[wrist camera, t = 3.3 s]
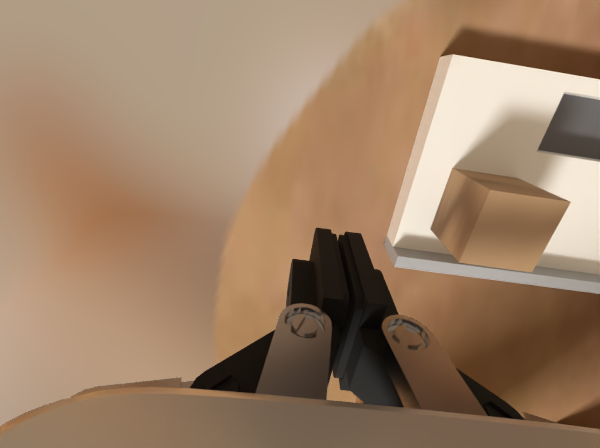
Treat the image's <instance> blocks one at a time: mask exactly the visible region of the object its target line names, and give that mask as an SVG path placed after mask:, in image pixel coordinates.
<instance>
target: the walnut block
mask: <svg viewBox="0 0 600 448" xmlns="http://www.w3.org/2000/svg"><path fill="white" fill-rule="evenodd" d="M570 203H571V202H570V201H568V200H566V199H563V198H561V197H559V196H557V195H554V194H552V193H550V192H548V191H545V190H543V189H541V188H539V187H537V186H534V185H532V184H530V183H528V182H525V181H523V180H521V179H519V178H514V177H508V176H501V175H494V174H488V173H481V172H475V171H468V170H461V169H455V168H452V170H451V173H450V175H449V178H448V181H447V184H446V187H445V189H444V192H443V195H442V198H441V200H440V203H439V206H438V209H437V211H436V214H435V217H434V220H433V223H432V225H431V228H430V230H431V231H432V232H433V233H434V234H435V235H436V236H437V238H438V239H439V240H440V241H441V242H442V243H443V245H444V246H445V247H446V248H447V249H448V250H449V252H450V253H451V254H452V255H453V256H454V257H455V258H456V260H457V261H458V262H459V263H466V264H474V265H481V266H489V267H496V268H503V269H511V270H518V271H526V272H533V270H534V268H535V266H536V264H537V263H538V261H539V259H540V257H541V255H542V254H543V252H544V250H545V248H546V246H547V245H548V243H549V241H550V239H551V237H552V235H553V234H554V232H555V230H556V228H557V226H558V225H559V223H560V221H561V219H562V217H563V216H564V214H565V212H566V210H567V208H568V207H569V205H570Z"/></svg>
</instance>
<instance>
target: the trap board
mask: <svg viewBox="0 0 600 448" xmlns="http://www.w3.org/2000/svg"><path fill="white" fill-rule="evenodd" d="M452 168H455V169H461V170H468V171H475V172H481V173H488V174H494V175H501V176H508V177H514V178H519V179H521V180H523V181H525V182H528V183H530V184H532V185H534V186H537V187H539V188H541V189H543V190H545V191H548V192H550V193H552V194H554V195H557V196H559V197H561V198H563V199H566V200H568V201H570V202H571V203H570V205H569V207H568V208H567V210H566V212H565V214H564V216H563V217H562V219H561V221H560V223H559V225H558V226H557V228H556V230H555V232H554V234H553V235H552V237H551V239H550V241H549V243H548V245H547V246H546V248H545V250H544V252H543V254H542V255H541V257H540V259H539V261H538V263H537V264H536V266H535V268H534V270H533V272H526V271H518V270H511V269H503V268H496V267H489V266H481V265H474V264H466V263H459V262H458V261H457V260H456V258H455V257H454V256H453V255H452V254H451V253H450V252H449V250H448V249H447V248H446V247H445V246H444V245H443V243H442V242H441V241H440V240H439V239H438V238H437V236H436V235H435V234H434V233H433V232H432V231H431V230H430V228H431V225H432V223H433V220H434V217H435V214H436V211H437V209H438V206H439V203H440V200H441V198H442V195H443V192H444V189H445V187H446V184H447V181H448V178H449V175H450V173H451V170H452ZM384 247H385V249H386V251H387V253H388V255H389V257H390V259H391V261H392V263H393V265H394V267H399V268H406V269H414V270H422V271H429V272H437V273H444V274H452V275H460V276H467V277H475V278H482V279H490V280H497V281H505V282H513V283H520V284H528V285H535V286H543V287H551V288H558V289H566V290H573V291H581V292H589V293H596V294H600V79H594V78H588V77H583V76H577V75H571V74H565V73H559V72H553V71H547V70H542V69H536V68H530V67H524V66H518V65H512V64H506V63H501V62H495V61H489V60H483V59H477V58H471V57H465V56H460V55H454V54H452V55H447V56H442V57H440V59H439V62H438V66H437V69H436V72H435V76H434V79H433V82H432V86H431V89H430V92H429V96H428V99H427V102H426V106H425V109H424V113H423V116H422V119H421V123H420V126H419V129H418V133H417V136H416V139H415V143H414V146H413V149H412V153H411V156H410V160H409V163H408V166H407V170H406V173H405V176H404V180H403V183H402V186H401V190H400V193H399V196H398V200H397V203H396V207H395V210H394V213H393V217H392V220H391V223H390V227H389V230H388V233H387V237H386V240H385V243H384Z"/></svg>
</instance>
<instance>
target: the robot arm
mask: <svg viewBox="0 0 600 448" xmlns="http://www.w3.org/2000/svg"><path fill="white" fill-rule="evenodd" d="M332 369H333V376H334V378H339V383H340V390H347V391H352V392H353V393H354V394H355V395H356V396H357V398H356V403H351V402H341V401H330V400H326V398H327V387H328V383H329V380H330V376H331V373H332ZM0 448H600V429H596V428H588V427H580V426H572V425H564V424H560V423H557V422H554V421H550V420H547V419H544V418H541V417H537V416H534V415H531V414H528V413H525V412H523V413H522V414H521V415H520V414H519V413H518V412H517V411H516V410H515V409H514V408H513V407H511V406H510V405H509V404H508V403H506V402H505V401H503V400H502V399H501V398H499V397H498V396H496V395H495V394H493V393H492V392H490V391H489V390H487V389H486V388H484V387H483V386H481V385H480V384H479V383H477V382H476V381H474V380H473V379H471V378H470V377H468V376H467V375H465V374H464V373H462V372H461V371H460V370H458V369H457V368H455V367H454V365H453V364H452V362H451V361H450V359H449V358H448V356H447V355H446V353H445V352H444V350H443V349H442V347H441V346H440V344H439V343H438V341H437V340H436V339H435V337H434V336H433V334H432V333H431V332H430V331H429V329H428V328H427V327H426V326H424V325H423V324H422V323H421V322H419V321H417V320H415V319H413V318H411V317H408V316H404V315H399V314H398V312H397V309H396V307H395V304H394V302H393V299H392V297H391V294H390V292H389V290H388V287H387V285H386V282H385V280H384V277H383V275H382V272H381V271H380V270H377V269H374V267H373V265H372V262H371V259H370V257H369V254H368V251H367V249H366V246H365V243H364V240H363V238H362V235H361V234H360V233H352V232H345V234H344V235H339V238H338V241H337V236H336V234H332V232H331V230H330V229H322V228H316V229H315V234H314V239H313V244H312V249H311V255H310V260H309V261H306V260H298V259H292V263H291V269H290V275H289V282H288V290H287V301H286V308H285V309H284V310H283V311H282V312H281V314H280V316H279V319H278V322H277V325H276V329H275V330H274V331H272V332H270V333H269V334H267V335H265V336H264V337H262V338H260V339H259V340H257V341H255V342H254V343H252V344H250V345H249V346H247V347H245V348H244V349H242V350H240V351H238V352H237V353H235V354H233V355H232V356H230V357H228V358H227V359H225V360H223V361H222V362H220V363H218V364H217V365H215V366H213V367H212V368H210V369H208V370H206V371H205V372H204V373H202V374H201V375H200V376H198V377H197V378H196V380H195V381H187V382H182V381H181V378H171V379H162V380H153V381H143V382H134V383H125V384H115V385H106V386H97V387H93V388H89V389H85V390H83V391H81V392H79V393H77V394H75V395H73V396H71V397H70V398H66V399H62V400H59V401H56V402H53V403H49V404H46V405H43V406H41V407H38V408H36V409H33V410H31V411H28V412H25V413H23V414H21V415H19V416H18V417H16V418H14V419H12V420H10V421H8V422H6V423H4V424H3V425H1V426H0Z"/></svg>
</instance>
